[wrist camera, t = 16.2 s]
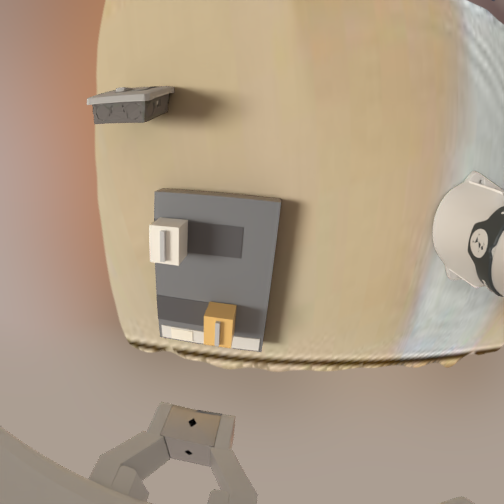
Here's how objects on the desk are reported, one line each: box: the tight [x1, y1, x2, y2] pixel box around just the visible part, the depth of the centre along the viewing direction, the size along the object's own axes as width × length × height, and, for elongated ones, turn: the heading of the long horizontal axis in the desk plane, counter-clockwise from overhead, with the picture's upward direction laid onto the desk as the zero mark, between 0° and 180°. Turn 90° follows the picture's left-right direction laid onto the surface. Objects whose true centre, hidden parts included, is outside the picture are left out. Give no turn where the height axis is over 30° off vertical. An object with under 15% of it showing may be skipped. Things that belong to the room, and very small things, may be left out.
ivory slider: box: [149, 217, 188, 266], centre depth 37 cm, size 4×5×5 cm
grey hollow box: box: [87, 86, 174, 124], centre depth 32 cm, size 9×5×9 cm, turn 83°
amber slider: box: [204, 302, 237, 348], centre depth 41 cm, size 4×5×5 cm
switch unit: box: [154, 188, 281, 352], centre depth 43 cm, size 17×24×3 cm
